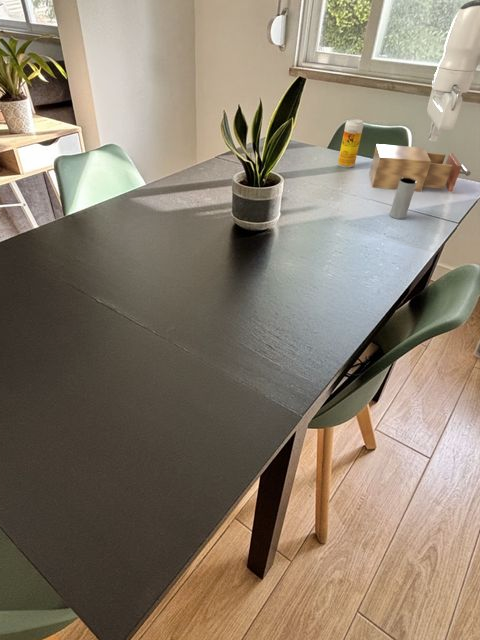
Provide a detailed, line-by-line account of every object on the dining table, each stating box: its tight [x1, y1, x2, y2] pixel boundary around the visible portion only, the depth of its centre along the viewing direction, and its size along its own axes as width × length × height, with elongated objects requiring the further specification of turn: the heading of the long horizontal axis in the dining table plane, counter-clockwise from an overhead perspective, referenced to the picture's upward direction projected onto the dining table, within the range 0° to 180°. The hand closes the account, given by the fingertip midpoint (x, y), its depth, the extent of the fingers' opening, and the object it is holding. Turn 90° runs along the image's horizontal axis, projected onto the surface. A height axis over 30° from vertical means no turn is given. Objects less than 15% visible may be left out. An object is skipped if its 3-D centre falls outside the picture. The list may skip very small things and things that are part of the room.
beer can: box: [337, 118, 364, 169], centre depth 153 cm, size 6×6×15 cm
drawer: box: [423, 152, 472, 192], centre depth 141 cm, size 19×13×8 cm
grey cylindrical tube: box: [389, 178, 417, 220], centre depth 122 cm, size 4×4×10 cm
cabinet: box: [369, 143, 431, 193], centre depth 143 cm, size 16×15×10 cm
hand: (432, 140), depth 117 cm, fingers closed
